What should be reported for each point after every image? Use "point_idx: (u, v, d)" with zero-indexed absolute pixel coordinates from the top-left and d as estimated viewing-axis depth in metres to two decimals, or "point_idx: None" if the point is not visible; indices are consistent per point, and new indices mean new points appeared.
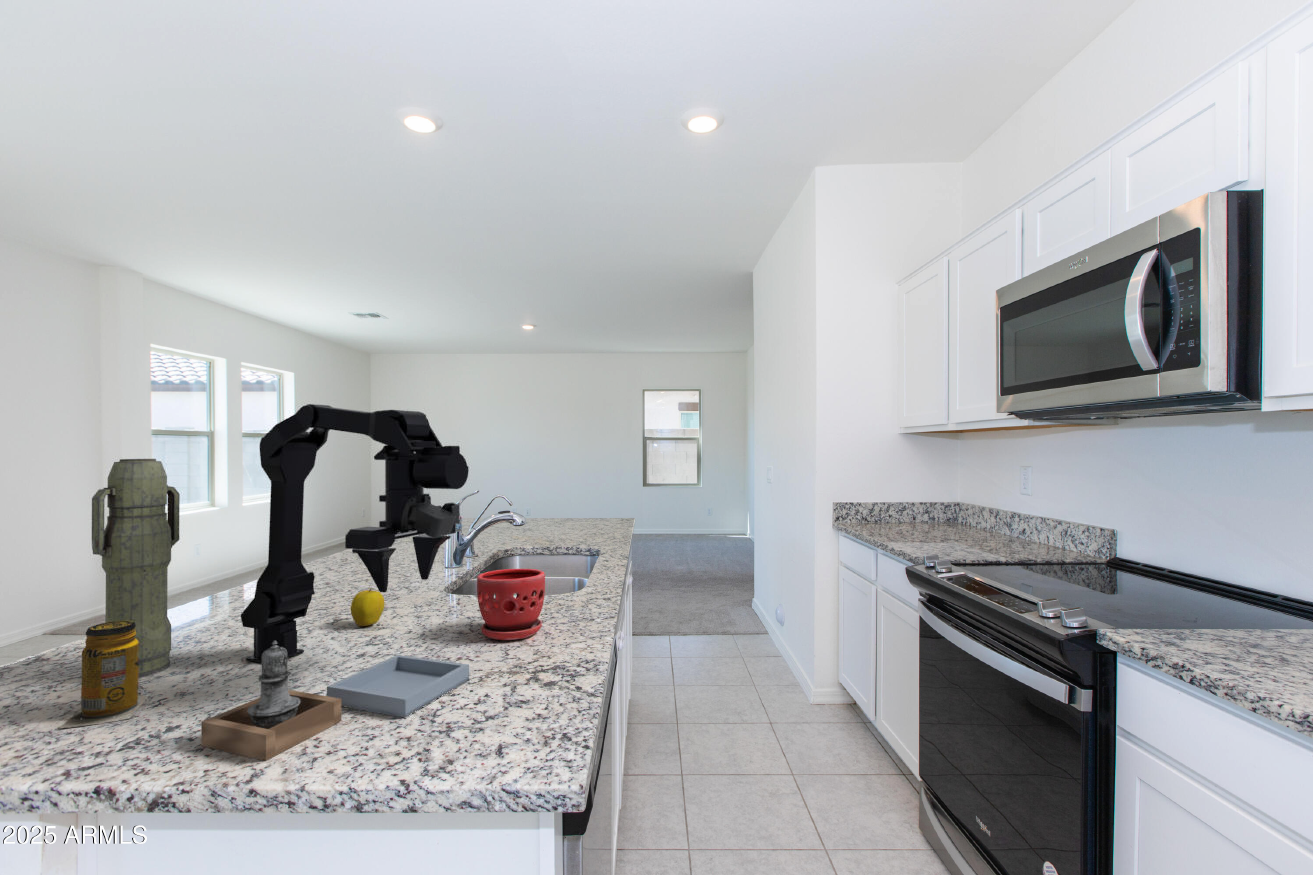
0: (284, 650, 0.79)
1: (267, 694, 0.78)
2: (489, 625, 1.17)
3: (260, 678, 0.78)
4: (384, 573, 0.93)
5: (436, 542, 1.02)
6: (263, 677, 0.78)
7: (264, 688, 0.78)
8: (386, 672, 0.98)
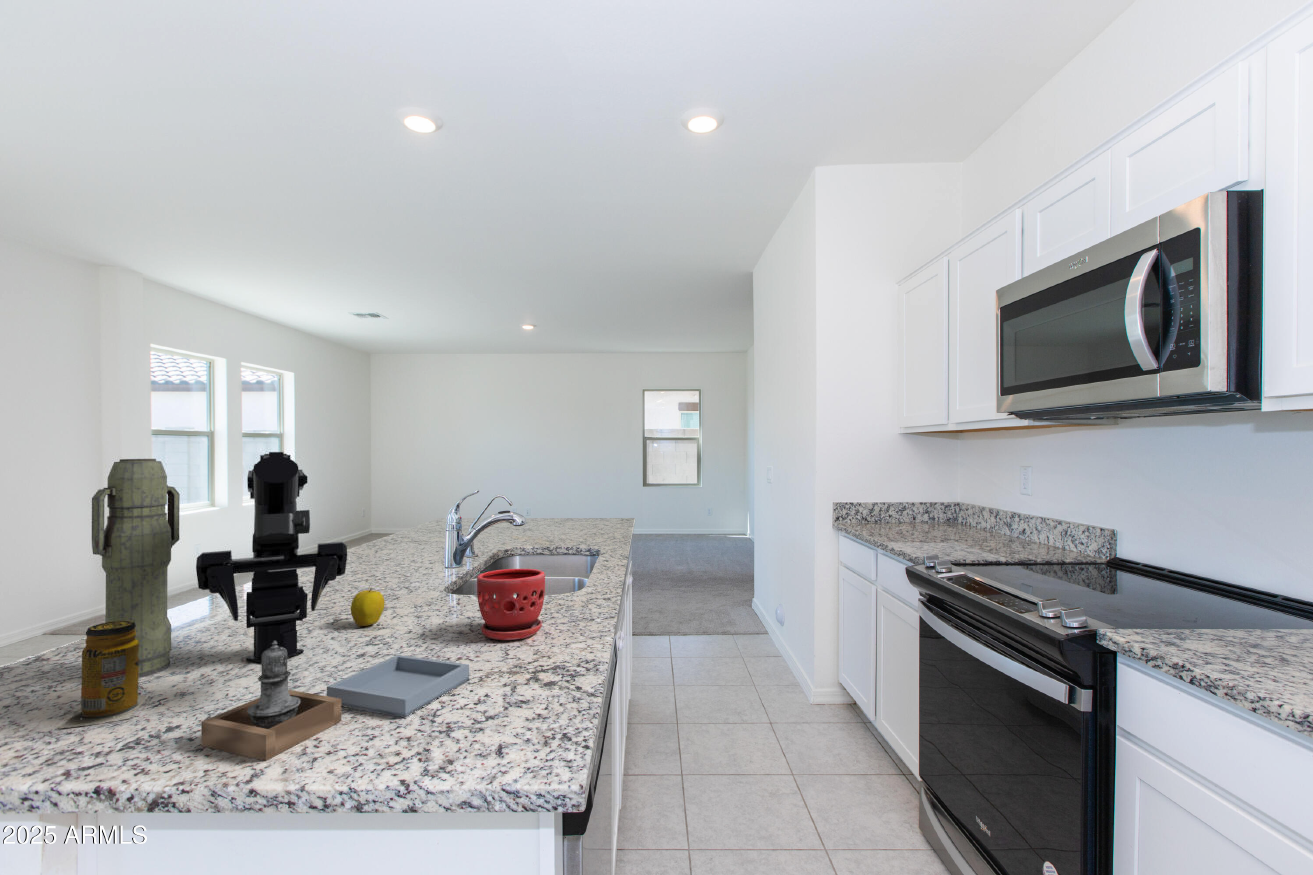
0: (284, 650, 0.79)
1: (267, 694, 0.78)
2: (489, 625, 1.17)
3: (260, 678, 0.78)
4: (228, 596, 0.84)
5: (315, 565, 0.91)
6: (263, 677, 0.78)
7: (264, 688, 0.78)
8: (386, 672, 0.98)
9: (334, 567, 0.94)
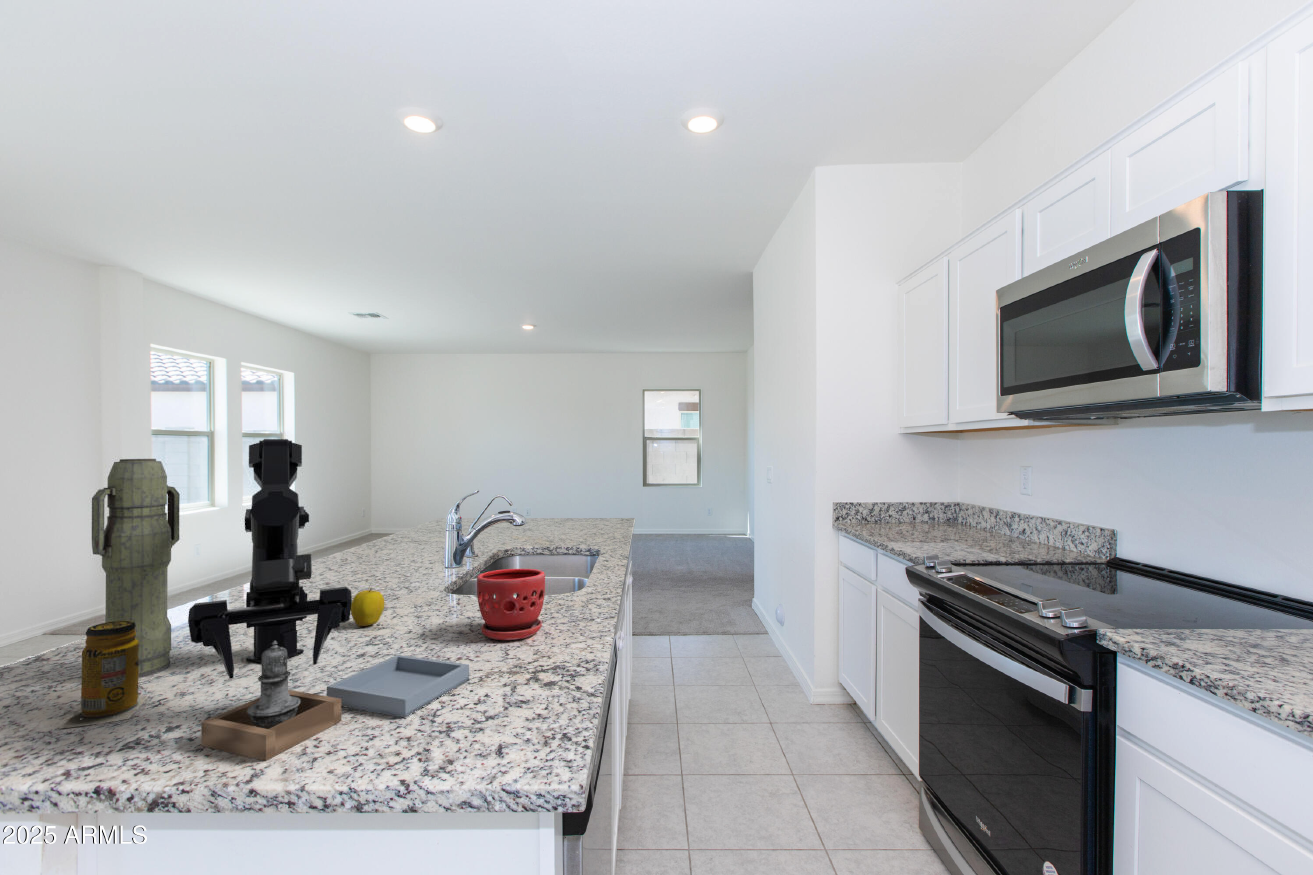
0: (284, 650, 0.79)
1: (267, 694, 0.78)
2: (489, 625, 1.17)
3: (260, 678, 0.78)
4: (223, 651, 0.78)
5: (317, 613, 0.85)
6: (263, 677, 0.78)
7: (264, 688, 0.78)
8: (386, 672, 0.98)
9: (337, 614, 0.87)
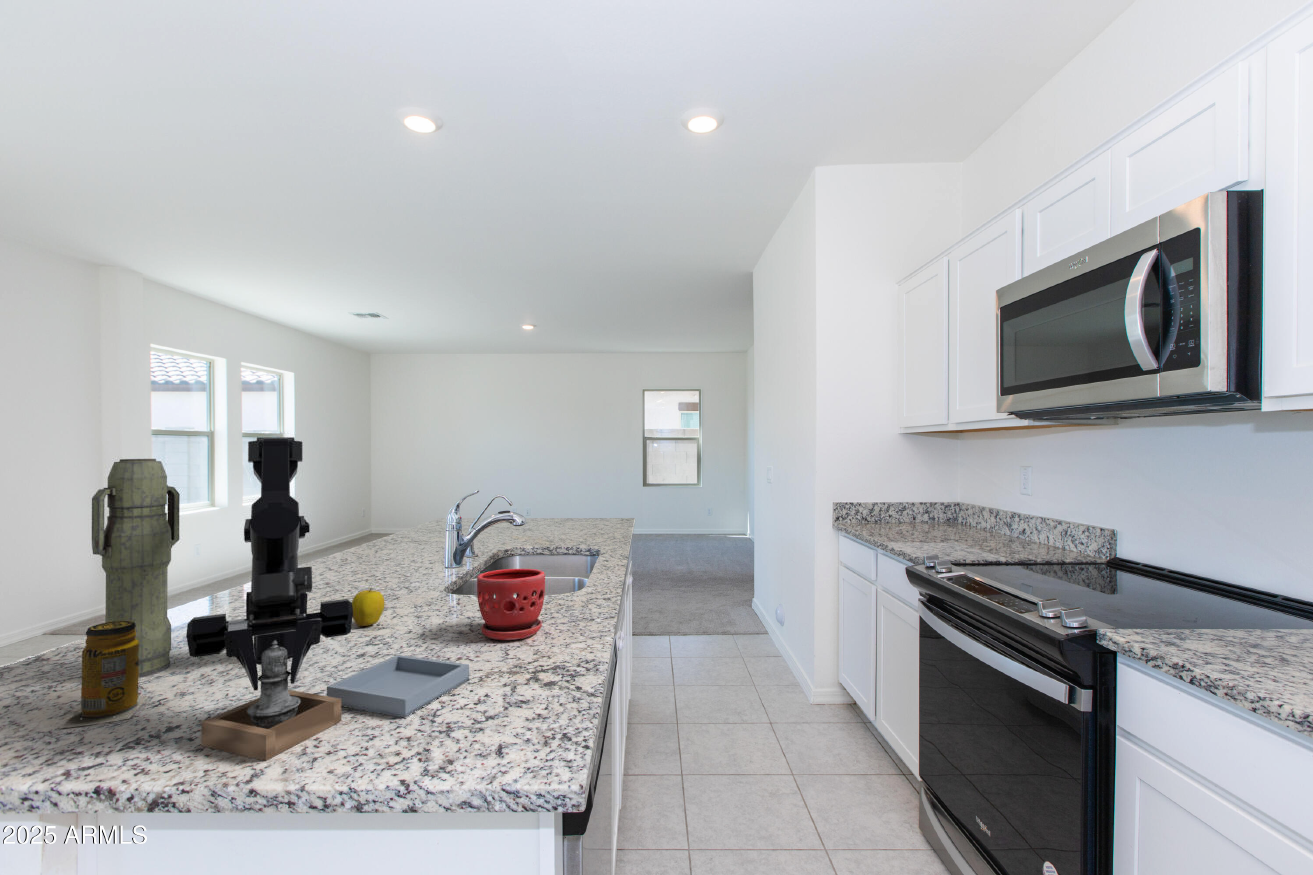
0: (284, 650, 0.79)
1: (267, 694, 0.78)
2: (489, 625, 1.17)
3: (260, 678, 0.78)
4: (247, 663, 0.78)
5: (296, 630, 0.82)
6: (263, 677, 0.78)
7: (264, 688, 0.78)
8: (386, 672, 0.98)
9: (317, 631, 0.84)
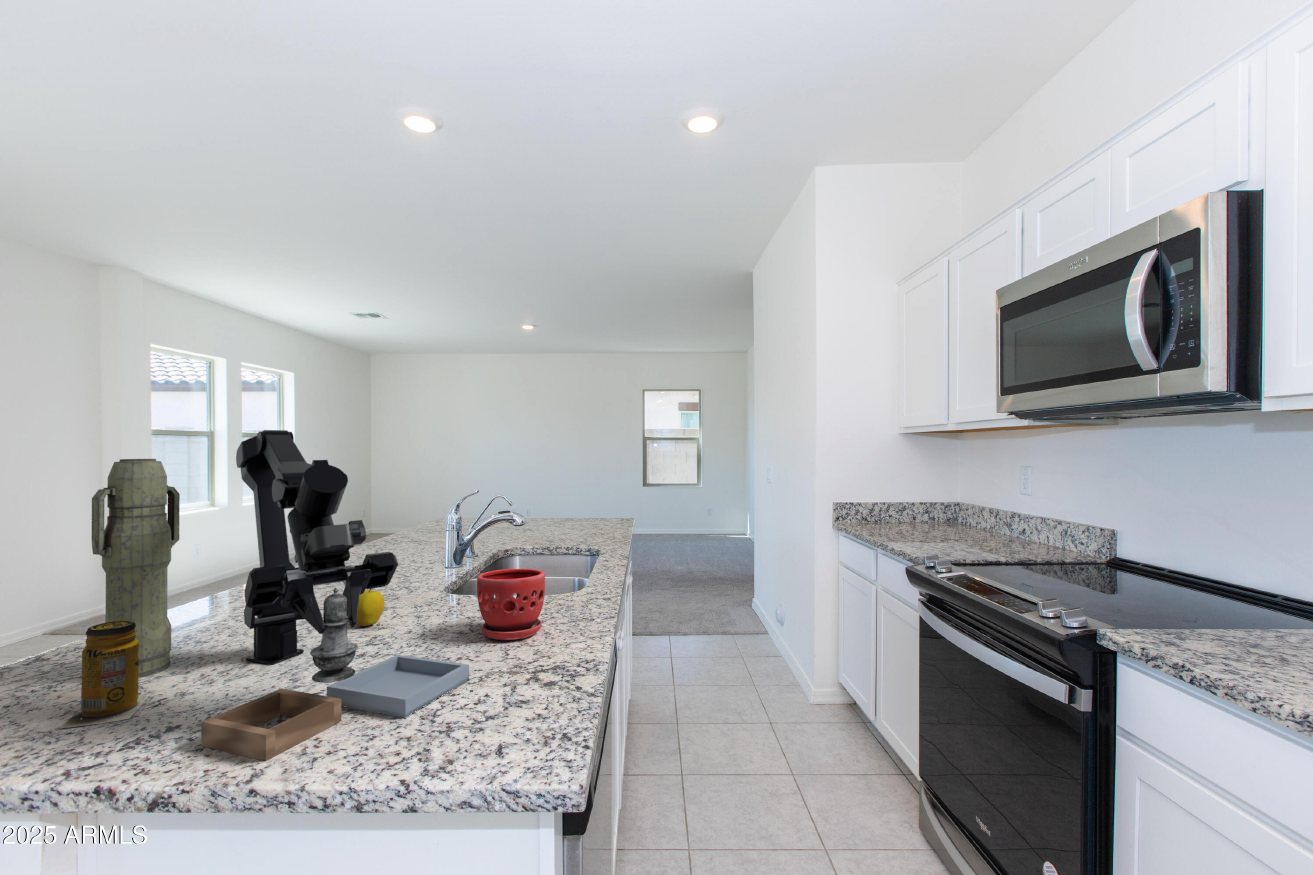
0: (345, 597, 0.84)
1: (332, 637, 0.83)
2: (489, 625, 1.17)
3: None
4: (312, 609, 0.82)
5: (350, 579, 0.87)
6: (327, 622, 0.83)
7: (329, 632, 0.82)
8: (386, 672, 0.98)
9: (366, 581, 0.89)
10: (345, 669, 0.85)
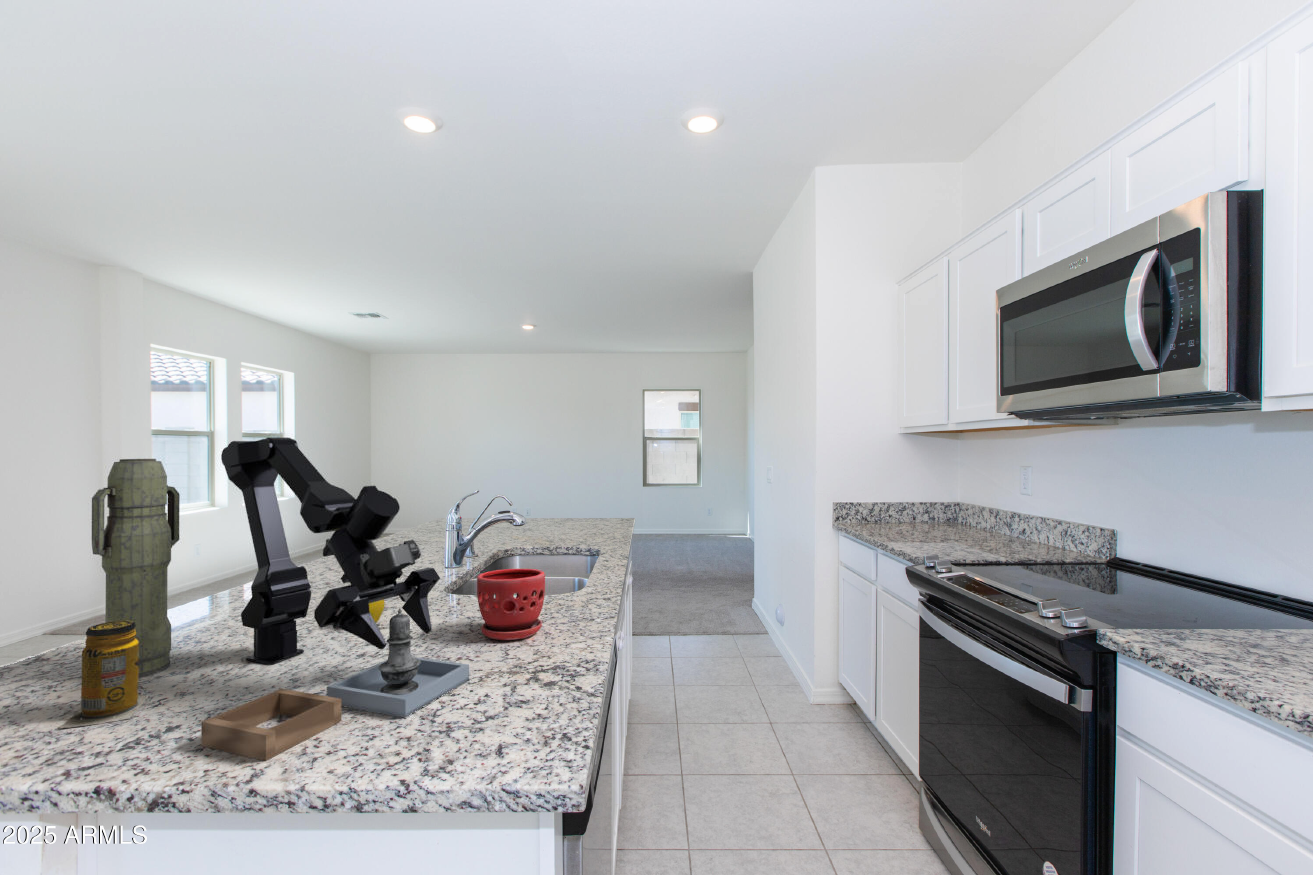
0: (407, 616, 0.93)
1: (401, 654, 0.91)
2: (489, 625, 1.17)
3: (392, 641, 0.91)
4: (372, 627, 0.88)
5: (418, 591, 0.97)
6: (396, 640, 0.91)
7: (398, 649, 0.91)
8: None
9: None
10: (408, 681, 0.93)
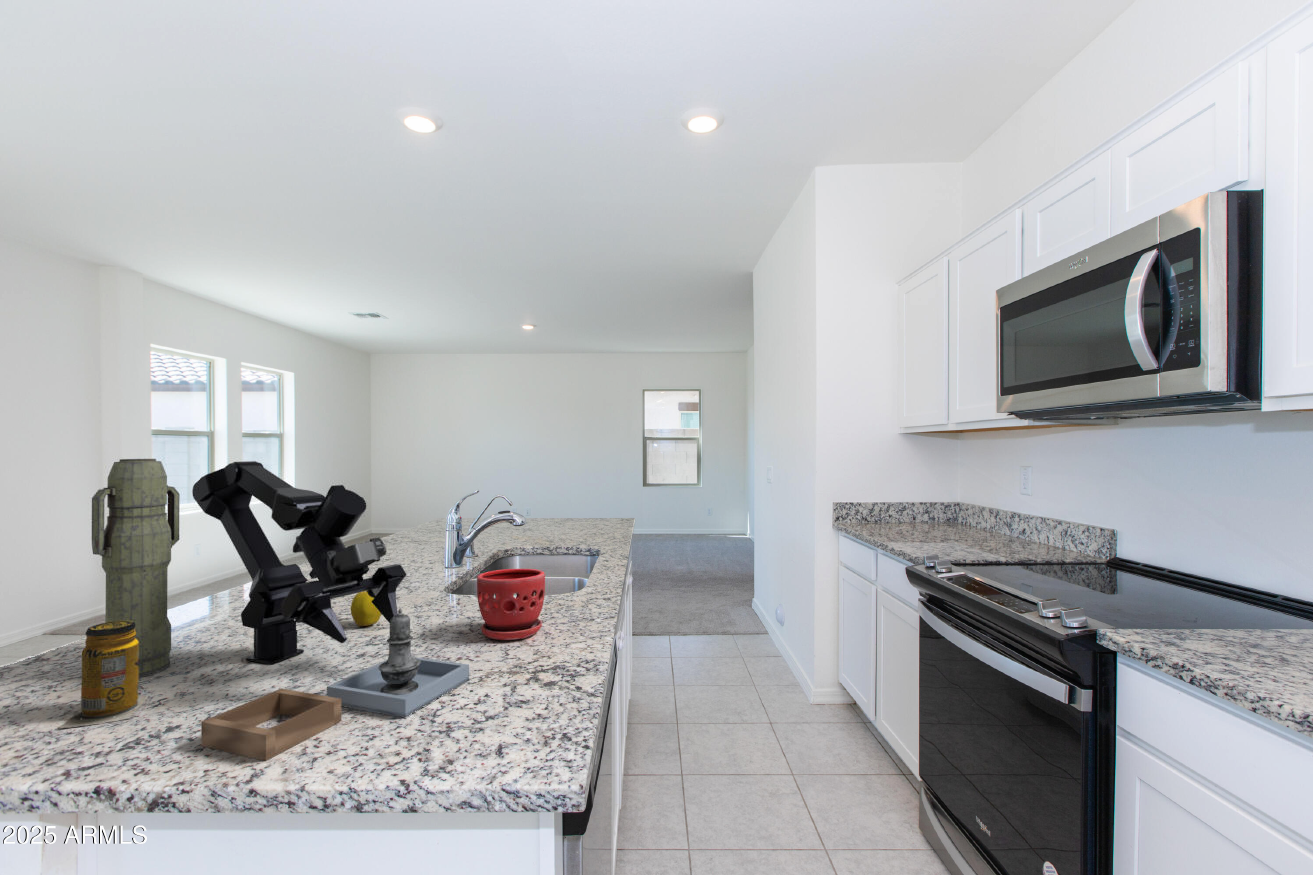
0: (408, 616, 0.93)
1: (401, 654, 0.91)
2: (489, 625, 1.17)
3: (393, 641, 0.91)
4: (333, 621, 0.91)
5: (387, 586, 1.01)
6: (396, 640, 0.91)
7: (398, 649, 0.91)
8: None
9: None
10: (408, 681, 0.93)
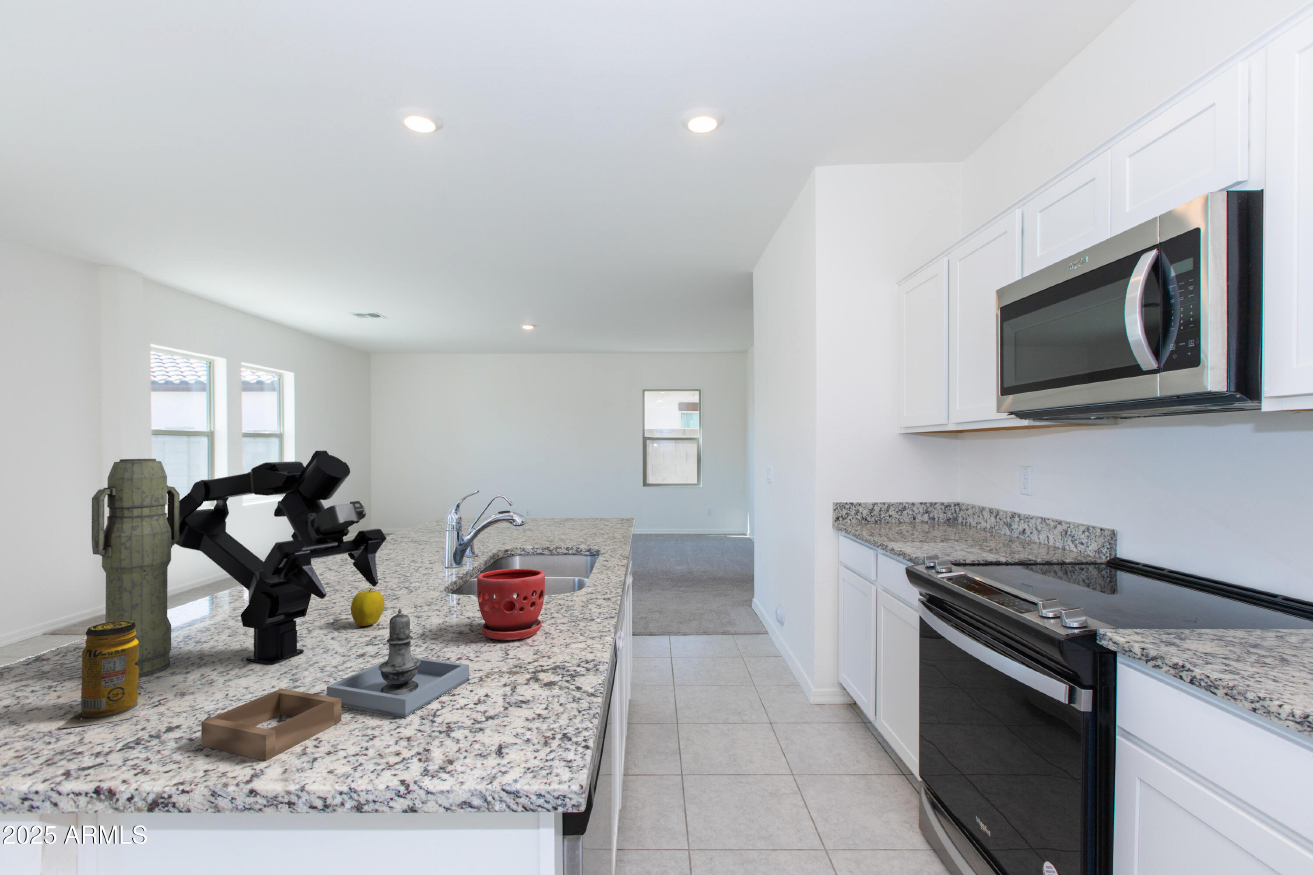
0: None
1: (401, 654, 0.91)
2: (489, 625, 1.17)
3: (392, 641, 0.91)
4: (313, 578, 0.95)
5: (367, 548, 1.05)
6: (396, 640, 0.91)
7: (398, 649, 0.91)
8: None
9: (375, 550, 1.08)
10: (408, 681, 0.93)
